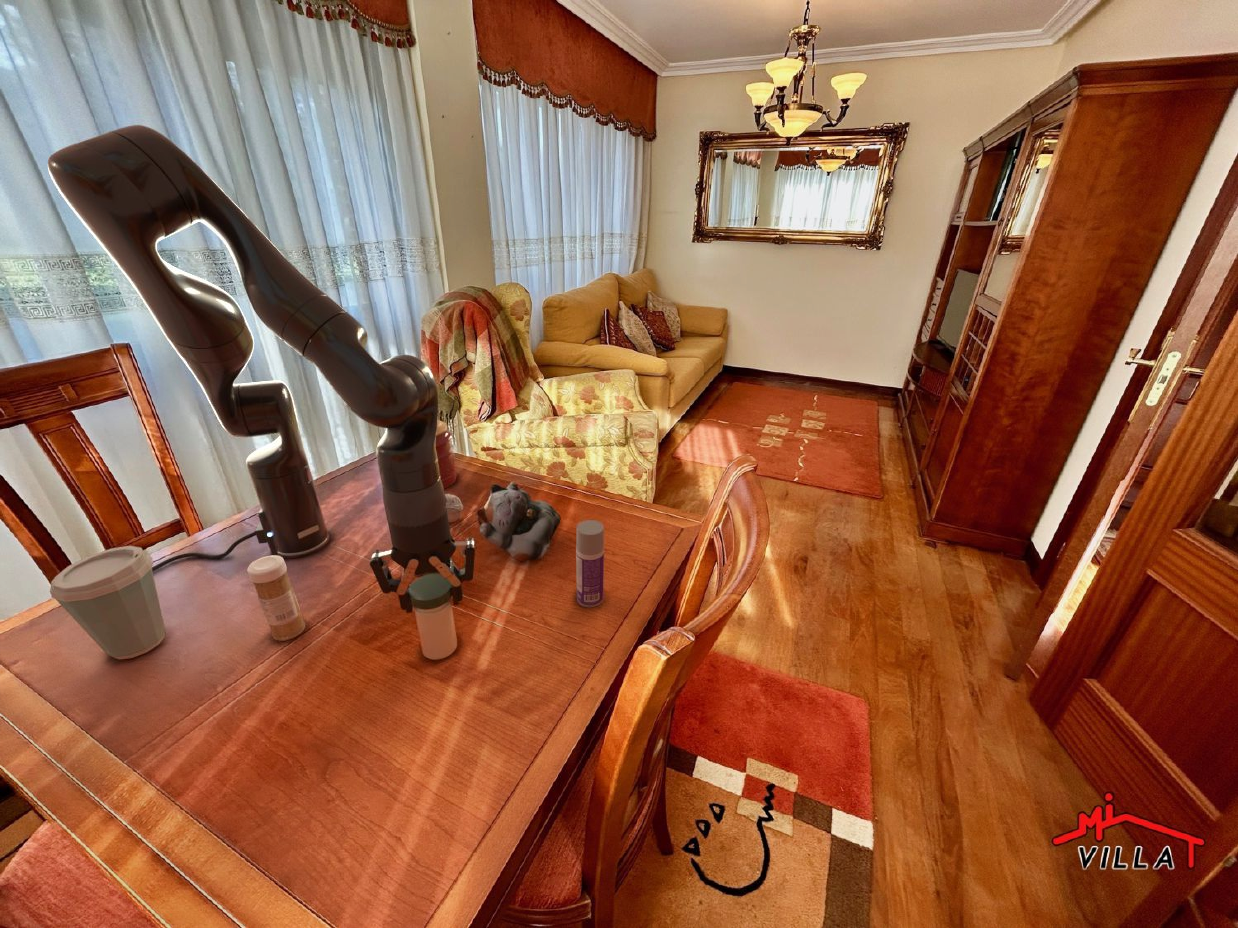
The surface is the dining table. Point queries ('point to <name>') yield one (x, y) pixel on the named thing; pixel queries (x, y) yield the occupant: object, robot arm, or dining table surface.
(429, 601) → the lid
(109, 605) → the disposable coffee cup
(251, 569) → the sprinkles bottle
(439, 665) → the dining table surface
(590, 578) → the container
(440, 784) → the dining table surface
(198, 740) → the dining table surface
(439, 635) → the jar
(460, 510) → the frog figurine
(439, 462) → the kitchen canister
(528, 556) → the lucky cat figurine
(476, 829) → the dining table surface
